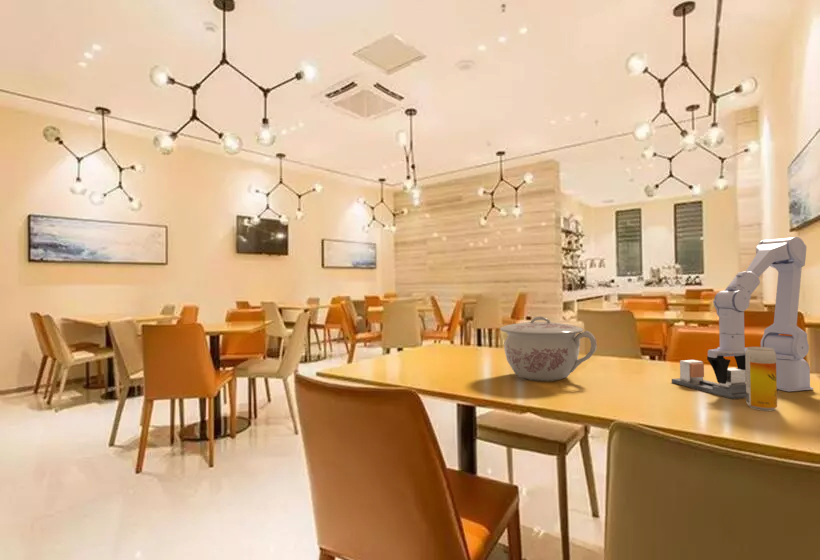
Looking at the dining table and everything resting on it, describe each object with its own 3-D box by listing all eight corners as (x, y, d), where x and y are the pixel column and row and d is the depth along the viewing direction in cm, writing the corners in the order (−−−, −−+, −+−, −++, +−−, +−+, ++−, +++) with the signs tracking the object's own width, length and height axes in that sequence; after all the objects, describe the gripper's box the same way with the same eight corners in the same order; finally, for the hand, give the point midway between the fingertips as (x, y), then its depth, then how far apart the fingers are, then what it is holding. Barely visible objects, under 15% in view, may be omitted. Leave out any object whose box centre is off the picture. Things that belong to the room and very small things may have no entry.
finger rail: (671, 382, 142) (671, 359, 142) (692, 381, 144) (692, 358, 144) (733, 399, 121) (732, 372, 122) (757, 397, 123) (756, 370, 123)
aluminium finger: (745, 391, 125) (745, 369, 125) (731, 392, 124) (730, 370, 124) (731, 388, 129) (731, 367, 129) (717, 389, 128) (716, 368, 128)
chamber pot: (486, 372, 162) (485, 315, 163) (552, 367, 171) (551, 312, 171) (529, 390, 136) (528, 321, 136) (604, 382, 144) (603, 317, 144)
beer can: (782, 412, 109) (781, 350, 110) (754, 411, 111) (753, 349, 111) (768, 405, 115) (767, 346, 115) (741, 404, 117) (740, 346, 117)
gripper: (739, 330, 132) (740, 377, 131) (698, 333, 128) (699, 380, 128) (763, 333, 125) (764, 382, 125) (720, 335, 121) (721, 386, 121)
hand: (732, 382), depth 126 cm, fingers open, 7 cm apart
